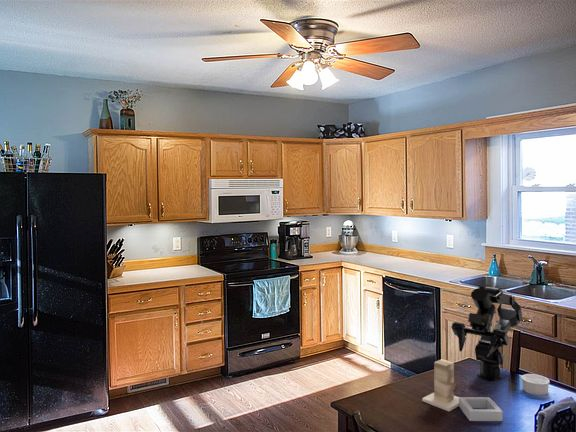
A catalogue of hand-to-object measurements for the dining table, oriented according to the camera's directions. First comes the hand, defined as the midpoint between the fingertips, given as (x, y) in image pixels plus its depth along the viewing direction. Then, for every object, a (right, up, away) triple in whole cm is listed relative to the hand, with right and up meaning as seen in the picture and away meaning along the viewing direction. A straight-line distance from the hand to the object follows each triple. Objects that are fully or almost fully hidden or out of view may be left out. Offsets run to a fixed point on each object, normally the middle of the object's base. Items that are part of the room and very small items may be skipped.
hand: (473, 353), depth 163 cm
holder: (-4, -14, -15) cm, 21 cm away
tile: (-13, -14, -7) cm, 20 cm away
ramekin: (+23, -14, +2) cm, 26 cm away
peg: (-13, -13, -7) cm, 19 cm away
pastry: (-8, -14, +4) cm, 17 cm away
